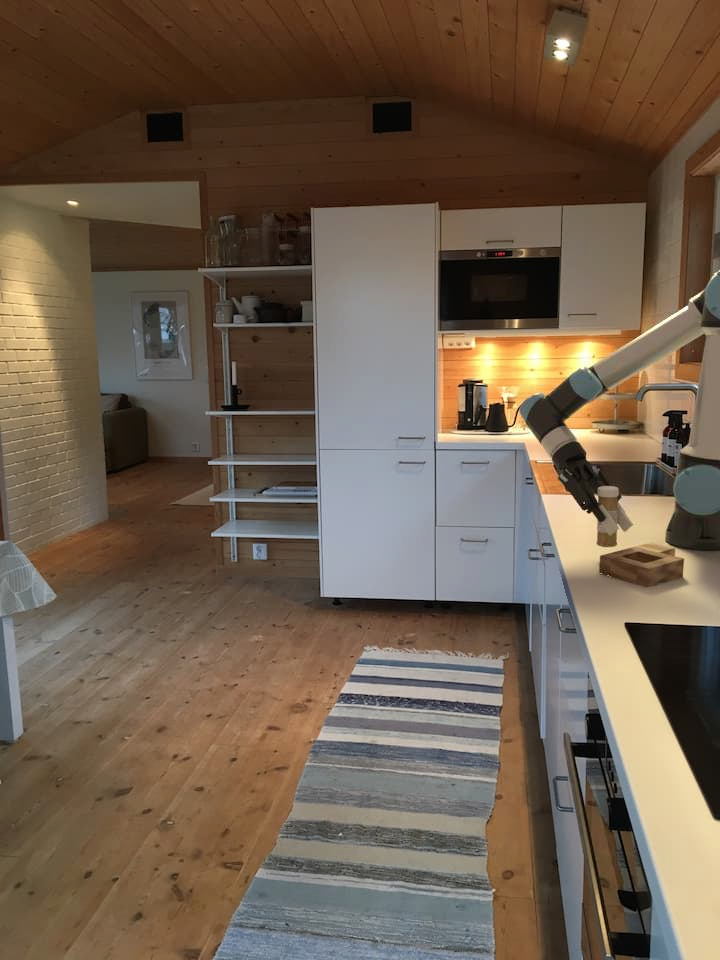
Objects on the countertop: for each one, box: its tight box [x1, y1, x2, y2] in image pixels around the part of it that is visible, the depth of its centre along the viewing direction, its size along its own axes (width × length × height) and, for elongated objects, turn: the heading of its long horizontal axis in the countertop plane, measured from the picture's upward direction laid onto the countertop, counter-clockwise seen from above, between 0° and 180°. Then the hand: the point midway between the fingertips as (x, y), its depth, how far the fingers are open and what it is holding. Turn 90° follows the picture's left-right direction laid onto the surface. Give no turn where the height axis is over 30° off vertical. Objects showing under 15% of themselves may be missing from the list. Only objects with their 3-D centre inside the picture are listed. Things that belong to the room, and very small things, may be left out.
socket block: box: [598, 546, 685, 588], centre depth 162 cm, size 12×12×4 cm
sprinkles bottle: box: [596, 485, 620, 548], centre depth 173 cm, size 5×5×14 cm
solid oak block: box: [634, 542, 676, 557], centre depth 170 cm, size 6×6×4 cm
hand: (621, 529), depth 170 cm, fingers closed on sprinkles bottle, 4 cm apart
